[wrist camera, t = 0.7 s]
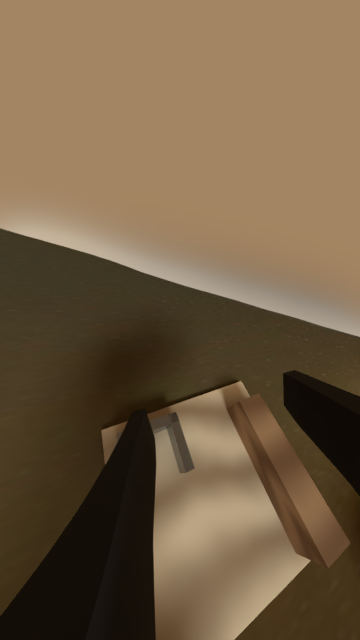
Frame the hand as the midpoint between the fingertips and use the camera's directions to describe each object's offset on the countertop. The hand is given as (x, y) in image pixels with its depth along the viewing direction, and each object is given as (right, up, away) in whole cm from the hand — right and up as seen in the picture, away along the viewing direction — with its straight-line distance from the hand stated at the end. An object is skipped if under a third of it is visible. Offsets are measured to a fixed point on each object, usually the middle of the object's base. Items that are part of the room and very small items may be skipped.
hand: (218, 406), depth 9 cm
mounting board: (+1, -14, +12) cm, 19 cm away
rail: (+9, -14, +13) cm, 21 cm away
